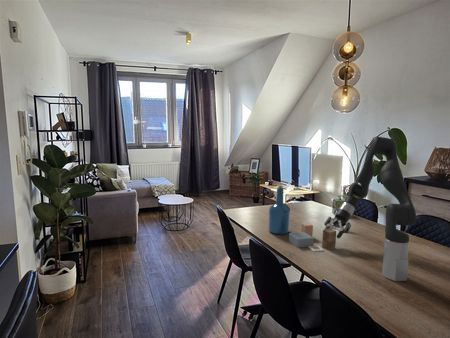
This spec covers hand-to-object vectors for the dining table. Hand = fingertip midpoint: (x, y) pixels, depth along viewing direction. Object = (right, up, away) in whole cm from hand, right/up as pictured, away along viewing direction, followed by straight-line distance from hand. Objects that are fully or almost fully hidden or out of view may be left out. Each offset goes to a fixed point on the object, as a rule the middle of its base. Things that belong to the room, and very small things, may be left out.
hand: (331, 235), depth 168 cm
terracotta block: (-9, -5, +17) cm, 20 cm away
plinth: (-15, -6, +6) cm, 18 cm away
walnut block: (-1, -7, 0) cm, 7 cm away
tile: (-9, -7, -2) cm, 12 cm away
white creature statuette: (+16, -3, +34) cm, 37 cm away
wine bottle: (-25, -3, +26) cm, 36 cm away
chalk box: (+31, +1, +68) cm, 75 cm away
